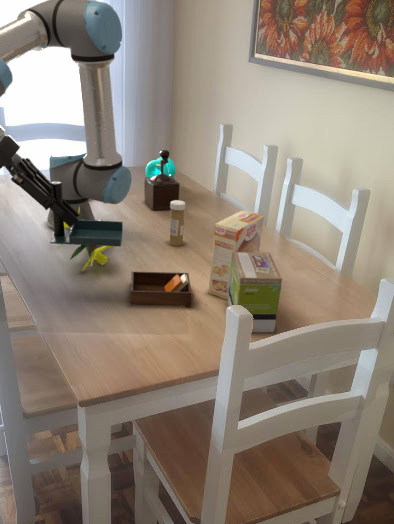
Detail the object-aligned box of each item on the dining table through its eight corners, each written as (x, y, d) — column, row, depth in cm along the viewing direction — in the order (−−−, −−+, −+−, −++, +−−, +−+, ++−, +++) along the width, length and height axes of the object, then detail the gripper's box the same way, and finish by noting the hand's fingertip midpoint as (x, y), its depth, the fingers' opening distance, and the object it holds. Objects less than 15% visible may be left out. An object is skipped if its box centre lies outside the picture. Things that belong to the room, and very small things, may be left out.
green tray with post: (56, 228, 143) (52, 176, 136) (122, 231, 145) (122, 180, 138) (50, 243, 135) (46, 188, 128) (120, 246, 136) (120, 192, 129)
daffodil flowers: (134, 243, 181) (119, 258, 148) (94, 265, 183) (71, 284, 150) (106, 195, 177) (85, 198, 143) (66, 218, 179) (36, 227, 145)
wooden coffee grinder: (180, 208, 211) (183, 159, 201) (152, 210, 207) (153, 159, 197) (166, 196, 223) (168, 148, 213) (139, 197, 219) (140, 149, 209)
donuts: (176, 182, 239) (177, 158, 234) (165, 188, 231) (166, 163, 226) (155, 178, 242) (156, 154, 237) (144, 184, 235) (144, 159, 229)
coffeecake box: (230, 301, 150) (238, 230, 140) (207, 293, 153) (213, 223, 143) (256, 282, 161) (265, 215, 151) (234, 275, 164) (241, 209, 154)
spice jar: (185, 245, 181) (188, 203, 174) (173, 247, 179) (175, 205, 172) (178, 240, 184) (180, 199, 177) (165, 242, 182) (167, 200, 175)
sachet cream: (184, 273, 151) (186, 275, 152) (170, 286, 152) (173, 288, 153) (186, 280, 147) (188, 282, 148) (172, 293, 149) (175, 295, 149)
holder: (131, 285, 154) (131, 271, 152) (187, 286, 156) (188, 272, 154) (130, 306, 144) (130, 291, 142) (190, 307, 146) (191, 292, 143)
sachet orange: (166, 289, 152) (163, 287, 152) (179, 276, 151) (177, 273, 151) (169, 296, 149) (167, 294, 148) (183, 283, 148) (180, 281, 147)
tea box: (225, 303, 149) (231, 250, 141) (263, 304, 150) (271, 251, 142) (233, 333, 136) (240, 276, 128) (275, 333, 137) (284, 277, 129)
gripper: (-8, 149, 134) (67, 220, 145) (-24, 166, 121) (60, 243, 132) (13, 126, 132) (88, 200, 143) (-1, 141, 119) (83, 221, 130)
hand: (74, 220), depth 137 cm, fingers closed on green tray with post, 2 cm apart
